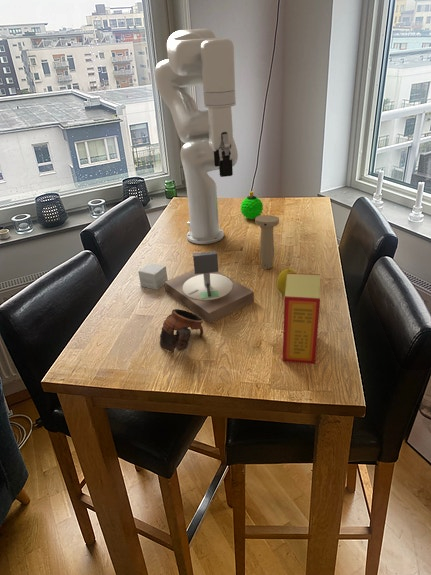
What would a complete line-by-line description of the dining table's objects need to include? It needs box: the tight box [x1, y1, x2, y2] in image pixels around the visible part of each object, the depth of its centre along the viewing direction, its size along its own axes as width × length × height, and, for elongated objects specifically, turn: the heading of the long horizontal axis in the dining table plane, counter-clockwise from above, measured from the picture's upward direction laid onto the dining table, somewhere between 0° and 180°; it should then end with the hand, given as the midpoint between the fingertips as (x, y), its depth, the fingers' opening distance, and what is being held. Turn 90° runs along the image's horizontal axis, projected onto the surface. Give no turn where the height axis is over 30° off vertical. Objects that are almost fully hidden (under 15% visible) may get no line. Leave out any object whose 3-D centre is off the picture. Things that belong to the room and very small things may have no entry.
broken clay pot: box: [159, 308, 204, 353], centre depth 93 cm, size 12×10×8 cm
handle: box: [254, 214, 280, 270], centre depth 118 cm, size 5×6×15 cm
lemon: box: [276, 268, 297, 296], centre depth 106 cm, size 6×6×8 cm
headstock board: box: [164, 269, 255, 324], centre depth 110 cm, size 20×14×3 cm
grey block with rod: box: [192, 250, 220, 297], centre depth 104 cm, size 6×7×9 cm
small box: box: [137, 262, 169, 291], centre depth 117 cm, size 6×6×5 cm
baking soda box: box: [282, 272, 321, 364], centre depth 87 cm, size 10×6×16 cm
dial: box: [183, 274, 233, 300], centre depth 109 cm, size 13×13×1 cm
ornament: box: [240, 190, 264, 220], centre depth 152 cm, size 8×8×10 cm
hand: (223, 170), depth 109 cm, fingers open, 9 cm apart
